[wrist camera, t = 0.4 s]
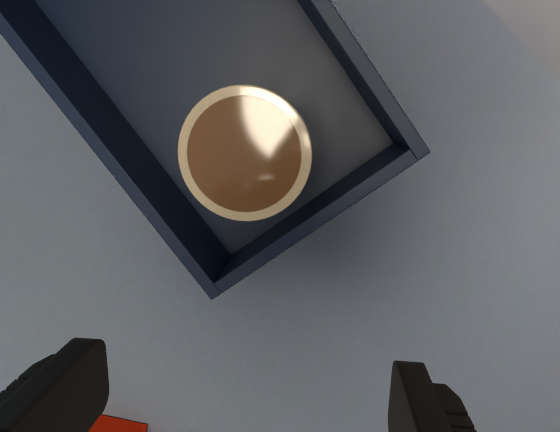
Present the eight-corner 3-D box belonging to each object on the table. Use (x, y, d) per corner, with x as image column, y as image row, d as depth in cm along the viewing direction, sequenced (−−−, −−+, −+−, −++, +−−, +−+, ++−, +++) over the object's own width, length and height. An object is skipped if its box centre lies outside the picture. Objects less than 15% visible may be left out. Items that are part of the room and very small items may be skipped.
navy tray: (1, -28, 29) (-77, -64, 23) (174, -205, 25) (133, -297, 20) (230, 268, 32) (211, 300, 26) (409, 145, 29) (431, 152, 23)
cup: (220, 91, 29) (176, 79, 20) (318, 97, 28) (317, 88, 19) (217, 187, 30) (176, 216, 21) (310, 194, 30) (306, 227, 21)
